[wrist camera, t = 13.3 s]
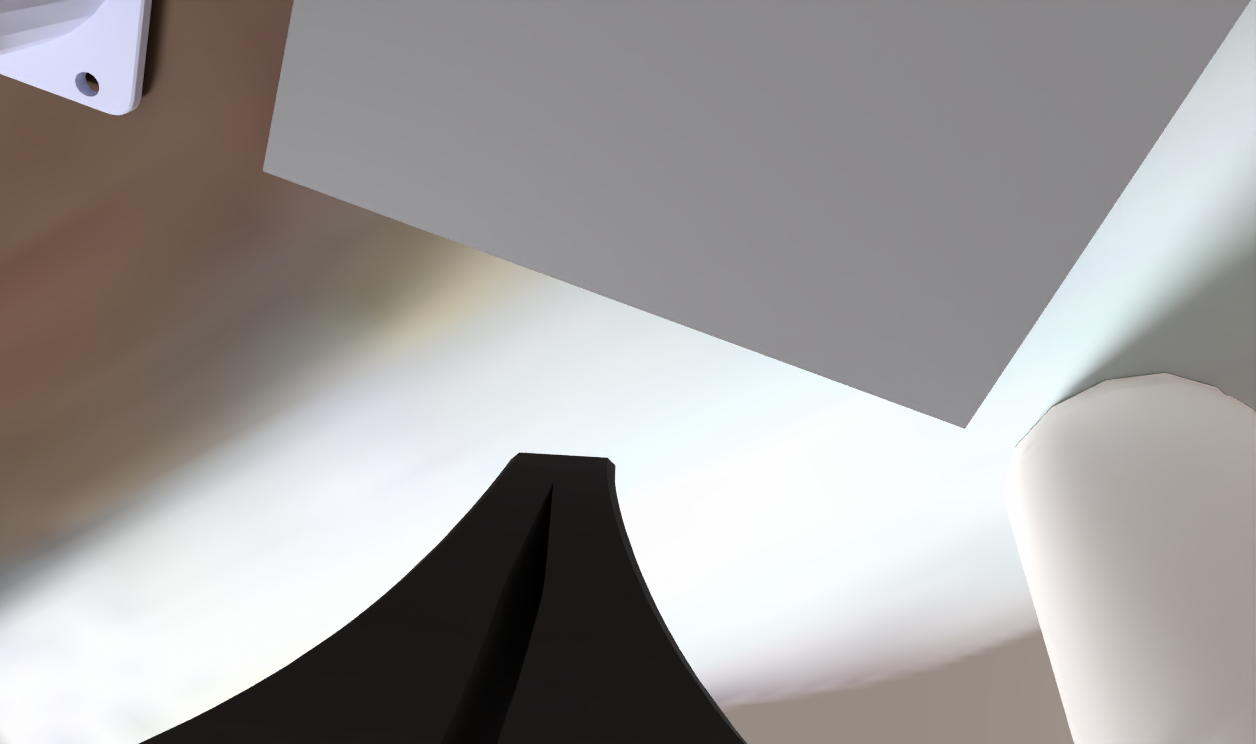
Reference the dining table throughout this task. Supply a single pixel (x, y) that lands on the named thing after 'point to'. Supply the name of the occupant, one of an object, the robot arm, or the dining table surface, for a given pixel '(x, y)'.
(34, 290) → the dining table surface
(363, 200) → the board
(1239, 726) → the foam cup
